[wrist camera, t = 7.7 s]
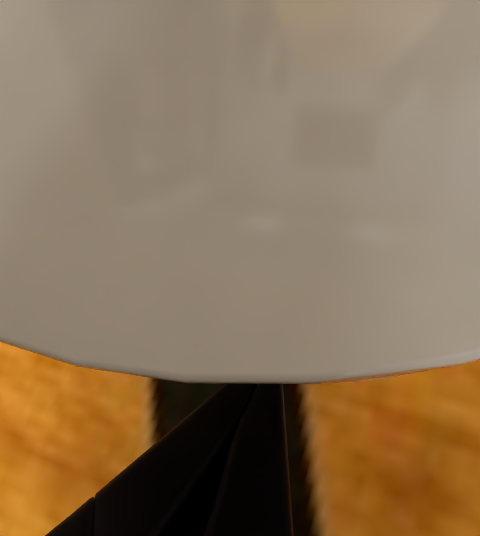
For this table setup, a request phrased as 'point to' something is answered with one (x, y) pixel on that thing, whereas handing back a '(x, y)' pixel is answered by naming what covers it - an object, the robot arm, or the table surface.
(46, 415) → the table surface
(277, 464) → the robot arm
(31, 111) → the plate stack
